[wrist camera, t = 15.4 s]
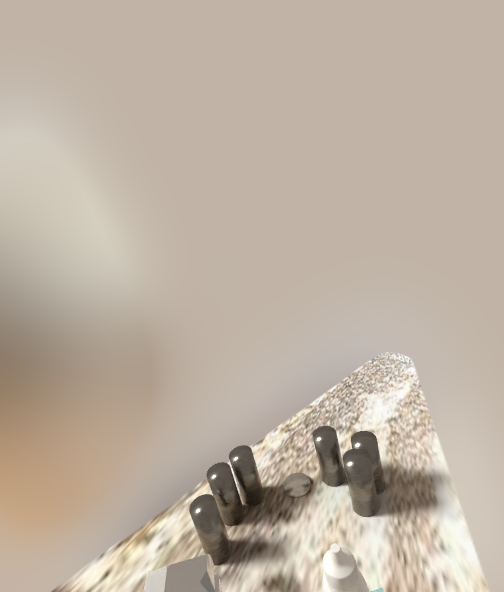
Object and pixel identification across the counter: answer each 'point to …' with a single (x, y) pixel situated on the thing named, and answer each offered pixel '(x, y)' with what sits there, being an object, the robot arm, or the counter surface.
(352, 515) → the counter surface
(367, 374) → the counter surface
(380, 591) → the pad
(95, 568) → the counter surface
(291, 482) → the grey flat disc
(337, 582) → the eye dropper bottle
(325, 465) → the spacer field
